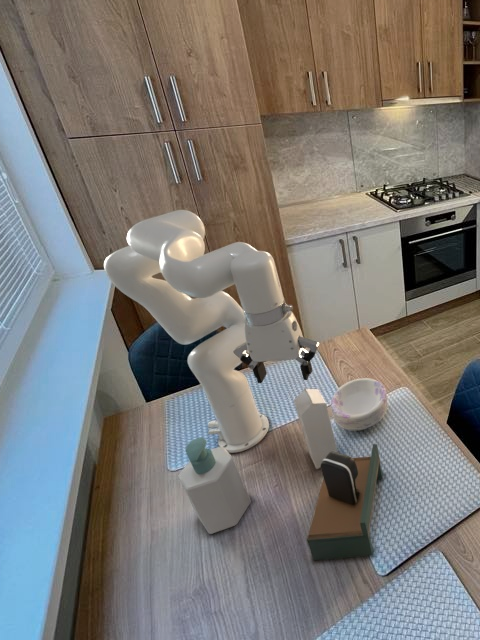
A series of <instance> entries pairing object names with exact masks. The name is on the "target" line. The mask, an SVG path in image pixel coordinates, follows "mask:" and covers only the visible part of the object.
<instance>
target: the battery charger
mask: <svg viewBox="0 0 480 640" xmlns="http://www.w3.org/2000/svg"><path fill="white" fill-rule="evenodd" d="M353 458H354V457H352V456H351V455H350V456H349V455H347V454H344V453H342V452H339V451H338V452H334V451H332V452H330V453H329V454H328V455H327V456H326V457H325V459H323V461H322V463H321V467H320V469H321V474H322V477H323V478H322V479H324V481H325V484H326V487H327V490H328V494H329V496H330V497H332V498H335V499H337V500H340V501H342V502H345V503H348V504H351V505H354V504H355V503H356V502H357V500H358V498H359V495H360V492H359V490H357V489H356V484H355V479H356V478H357V476H358V470H357V466H356V462H355V460H354V459H353Z"/></svg>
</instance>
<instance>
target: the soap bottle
mask: <svg viewBox="0 0 480 640" xmlns="http://www.w3.org/2000/svg"><path fill="white" fill-rule="evenodd" d="M207 442H208V441H207V439H206V438H205V437H197V438H194V439H193V440H191V441H190V442H189V443H188V444H187V445H186V446H185V453H186V456H187V458H188V462H187V464H186V465H185V466H184V467H183V468H182V470H181V471H180V472H179V473H178V475H177V478H178V480H179V482H180V484H181V487H182V488H183V490H184V492H185V494H186V495H187V497H188V500H189V501H190V503H191V505H192V507H193V509H194V511H195V514H196V515H197V517H198V519H199V521H200V522H201V524H202V526H203V527H204V529H205V530H206V532H207V533H208V534H209V535H212V534H214V533H218V532H221V531H223V530H226V529H229V528H232V527H234V526H235V527H236V526H237V524H238V523H239V522H240V520H241V519H242V517H243V515H244V514H245V512H246V511H247V510H248V507H249V506H250V504H251V498H250V496H249V493H248V491H247V489H246V486H245V484H244V482H243V479H242V476H241V474H240V472H239V468H238V466H237V465H236V462H235V460H234V457H233V455H231V453H230V452H227V450H226V449H225V448H224V447H223V446H217V447H214V448H211V449H210V448H208V447H207V448H206V445H207Z"/></svg>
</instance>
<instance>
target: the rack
mask: <svg viewBox="0 0 480 640" xmlns="http://www.w3.org/2000/svg"><path fill="white" fill-rule="evenodd" d="M379 452H380V451H379V447H378V443H374V444H372V447H371V453H370V456H359V457H352V458H353V459H354V460H355V462H356V466H357V470H358V476H357V478H356V479H355V484H356V489H357V490H359V492H360V495H359V498H358V500H357V502H356V503H355V504H354V505H351V504H348V503H345V502H342V501H340V500H337V499H335V498H332V497H330V496H329V494H328V490H327V487H326V484H325V481H324V478H322V483H321V487H320V490H319V494H318V498H317V501H316V505H315V509H314V511H313V516H312V520H311V524H310V527H309V531H308V533H307V534H308V535H307V538H306V542H307V545H308V548H309V551H310V554H311V556H312V560H313V561H323V560H334V559H345V558H355V557H367V556H373V554H374V547H373V543H372V539H371V534H370V531H371V522H372V517H373V509H374V503H375V494H376V489H377V481H378V480H382V479H383V476H384V475H383V468H382V463H381V458H380V453H379Z"/></svg>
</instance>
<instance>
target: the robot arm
mask: <svg viewBox="0 0 480 640" xmlns="http://www.w3.org/2000/svg"><path fill="white" fill-rule="evenodd" d="M126 234H127V235H126V242H127V244H128V245H127V246H125V247H122V248H119V249H117V250H116V251H115V250H114V252H112V253H111V254H109V255H108V256H107V257H106V258H105V260H104V261H103V269H104V270H103V271H104V272H105V274H106V276H107V277H108V279H109V281H110V282H111V283H112V284H113V286H115V288H116V289H118V290H119V291H120V292H121V293H123V294H124V296H125V295H126V296H127V297H128V298H130V299H131V300H132V301H135V302H137V303H138V305H141V306H142V307H143V308H145V310H146V311H148V313H150V315H151V316H152V317H153V318H154V320H155V321H156V322H157V323H158V324H159V325H160V327H162V328H163V330H164V331H165V332H166V334H168V335H169V336H170V337H171V338H172V339H173V340H174V341H175V342H176V343H178V344H180V345H190V344H193V343H195V342H197V341H199V340H201V339H203V338H204V337H206V336H208V335H210V334H211V333H213V332H215V331H217V330H218V329H220V328H221V327H224V328H225V329H223V330H221V331H220V332H218V333H216V334H214V335H213V336H211V337H209V338H207V339H206V340H204V341H202V342H201V343H199V344H198V345H197V346H195V347H194V348H193V349H191V351H190V353H189V354H188V356H187V365H188V367H189V369H190V371H191V373H192V374H193V375H194V377H195V378H196V379H197V381H198V382H199V384H200V386H201V388H202V389H203V391H204V394H205V396H206V398H207V400H208V404H209V406H210V408H211V410H212V413H213V415H214V417H215V420H210V421H209V422H208V424H207V428H208V431H207V432H208V435H209V436H212V435H217V436H218V439H217V442H218V443H217V444H218V447H220V446H223V447H224V448H225V449H226V450H227V452H228V453H229V454H233V453H240V452H243V451H246V450H250V449H251V448H253V447H254V446H256V445H257V444H259V443H260V442H261V441H262V440H263V439H264V438H265V436H266V435H267V433H268V432H269V428H270V422H269V419H268V417H267V416H266V415H265V414H262V413H260V412H259V409H258V407H257V403H256V401H255V398H254V395H253V392H252V389H251V387H250V384H249V381H248V378H247V377H246V375H245V374H244V373H243V372H241V371H239V370H236V368H237V367H238V366H240V365H241V364H242V363H244V364H245V365H247V367H248V369H250V370H252V372H253V374H254V378H256V381H257V384H262V383H263V382H264V380H265V378H266V376H267V373H268V372H267V369H266V366H265V363H264V362H279V361H280V362H281V361H293V360H295V361H297V362H298V363H300V372H301V375H302V379H303V381H308V379H309V377H310V375H311V374H312V373H313V366H312V362H311V361H312V360H313V358H314V357H315V356H316V353H317V351H318V349H319V347H320V346H319V345H320V342H319V341H317V340H313V339H309V338H306V337H304V335H303V332H302V330H301V326H300V324H299V322H298V320H297V318H296V316H295V314H294V312H293V311H294V306H293V304H288V303H287V301H286V299H285V297H284V294H283V289H282V286H281V282H280V278H279V274H278V270H277V266H276V262H275V260H274V257H273V256H272V255H271V253H269V252H267V251H265V250H257V249H256V248H255V247H253V246H251V244H249V243H246V242H243V241H236V242H233V243H229V244H227V245H225V246H222V247H220V248H217V249H215V250H212V251H209V252H207V253H205V251H206V245H205V241H204V239H205V236H206V227H205V225H204V223H203V221H202V219H201V218H200V217H199V216H198V215H197V214H196V213H195V212H192V211H190V210H187V209H176V210H173V211H170V212H167V213H164V214H163V213H162V214H160V215H157V216H152V217H150V218H149V217H148V218H145V219H143V220H140V221H139V222H137V223H135V224H134V225H132V227H130V228H129V230H128V232H127V233H126ZM158 274H161V275H162V277H163V278H164V279H160V278H155V277H153V276H155V275H158ZM232 286H235V290H236V291H237V294H238V298H239V301H240V304H239V303H238V302H237V300H235V299H234V298H233V297H232V296H231V295H230V294H229V293H227V292H225V291H224V290H226V289H228V288H230V287H232ZM305 348H308V349H309V350H307V349H305Z"/></svg>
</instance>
